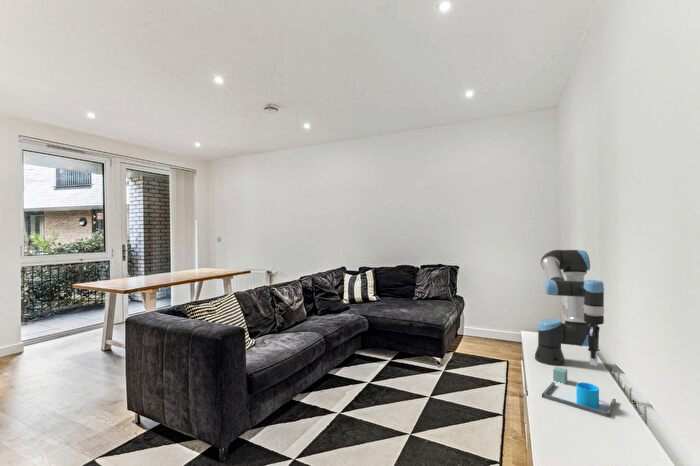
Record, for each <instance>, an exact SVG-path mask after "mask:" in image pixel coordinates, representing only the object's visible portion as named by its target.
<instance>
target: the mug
mask: <svg viewBox="0 0 700 466" xmlns="http://www.w3.org/2000/svg"><path fill="white" fill-rule="evenodd" d="M576 403H577V404H580V405H584V406H587V407H591V408H594V409H597V410H600V387H598V386H597V385H595V384H593V383H588V382H577V383H576Z"/></svg>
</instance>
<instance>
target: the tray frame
mask: <svg viewBox="0 0 700 466" xmlns="http://www.w3.org/2000/svg"><path fill="white" fill-rule="evenodd" d="M555 386H556V382H554V381H553V382H551V383H550V384H549V386H547V388H546V389H545V390H544V391H542V393H541V398H543V399H546V400H549V401H553V402H557V403H559V404H563V405H565V406H570V407H573V408H576V409H579V410H582V411H587V412H590V413H593V414H595V415H599V416H602V417H605V418H610V416H611V415H612V412H613V410H614V408H615V405H616V403H617V398H614V397H613V398H612V400H611V402H610V404H609V407H608V409H607V411H605V410H600V409H594V408H591V407H587V406H584V405H580V404H577V402H573V401H569V400H567V399H563V398H559V397H556V396H554V395H549V394H550V393H551V391H552V390H553V389H554V388H555Z"/></svg>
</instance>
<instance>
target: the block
mask: <svg viewBox="0 0 700 466" xmlns="http://www.w3.org/2000/svg"><path fill="white" fill-rule="evenodd" d="M552 372H553V374H552V375H553V376H552V378H553V379H552V380H553V382H554V381H556V382H555V383H558V382H560V383H559V384H561V383H563V384H562V385H566V384H567V382H568V368H563V367H559V366H555V367H554V368H553V369H552Z"/></svg>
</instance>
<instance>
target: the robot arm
mask: <svg viewBox="0 0 700 466" xmlns="http://www.w3.org/2000/svg"><path fill="white" fill-rule="evenodd" d="M540 266H541V268H542V269H543V270H544V273H545V276H546V280H545V282H544V283H545V284H544V288H545V289H544V290H545V291H544V292H545V294H546V295H549V296H557V297H558V296H560V297H561V296H563V297H566V298H567V299H566V302H567V303H566V304H567V306H566V307H567V318H565V319H564V323H563V322H561V320H560V319H556V318H555V319H553V318H552V319H551V318H550V319H549V318H547V319H546V318H545V319H542V320H540V321H539V322H538V324H537V331H538V332H537V333H538V334H537V340H538V341H537V343H538V344H537V348H536V350H535V352H534V359H535V361H537V362H539V363H541V364H545V363H546V365H549V364H551V366H562V365H564V364H565V363H566V360H565V359H566V358H565V356H564V353H563V350H562V345H568V346H569V345H570V346H578V347H588V349H587V351H589V365H591V366H595V367H598V364H599V363H598V361H599V360H598V352H599V351H600V349H599V348H600V347H599V341H600V340H599V339H600V338H599V337H600V326H601V325H603V324H604V321H605V317H604V315H605V306H604V302H605V300H604V299H605V298H604V296H605V293H604V292H605V288H604V286H605V285H604V282H603V281H602V280H596V279H586V280H585V276H586V275H587V273H588V271H590V270H591V261H590V257H589V254H588V252H587V251H586V250H582V249H553V250H550V251H548V252H547V253H545V254H544V255H543V256H542V257H541V259H540ZM563 274H564V275H565V278H566V280H565V278H564V275H563ZM599 325H600V326H599Z"/></svg>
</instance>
